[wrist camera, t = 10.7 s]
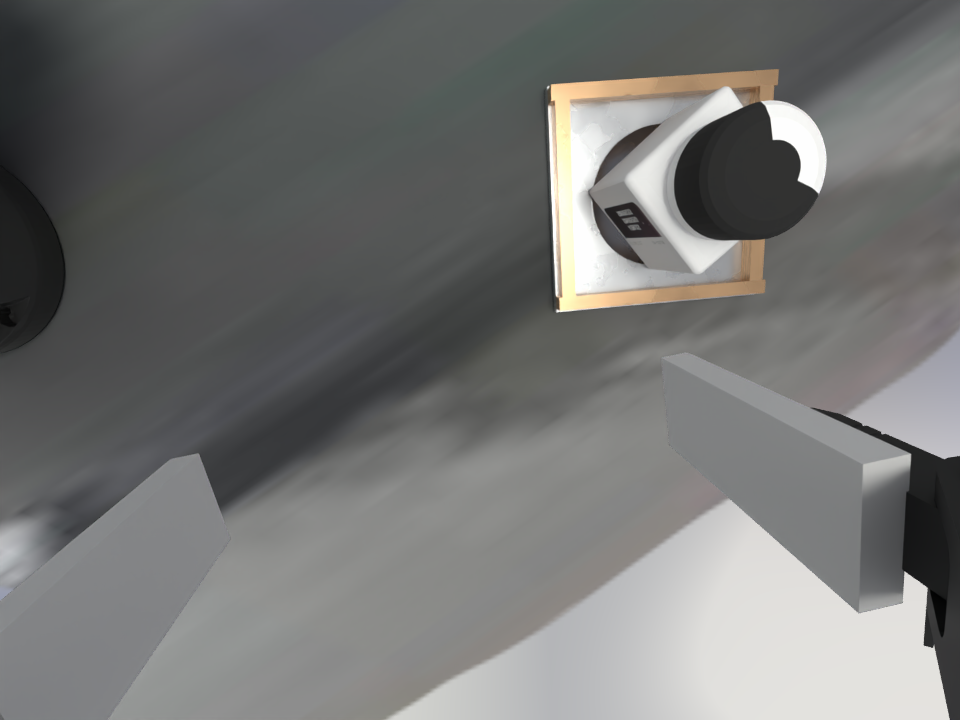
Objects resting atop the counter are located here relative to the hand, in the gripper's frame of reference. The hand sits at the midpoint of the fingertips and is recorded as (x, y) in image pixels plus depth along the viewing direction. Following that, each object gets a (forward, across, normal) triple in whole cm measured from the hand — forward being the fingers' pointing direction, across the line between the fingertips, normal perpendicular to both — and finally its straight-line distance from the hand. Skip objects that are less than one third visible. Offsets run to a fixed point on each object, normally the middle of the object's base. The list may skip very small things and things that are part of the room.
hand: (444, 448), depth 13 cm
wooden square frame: (+25, +18, +6) cm, 31 cm away
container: (+24, +18, +6) cm, 30 cm away
